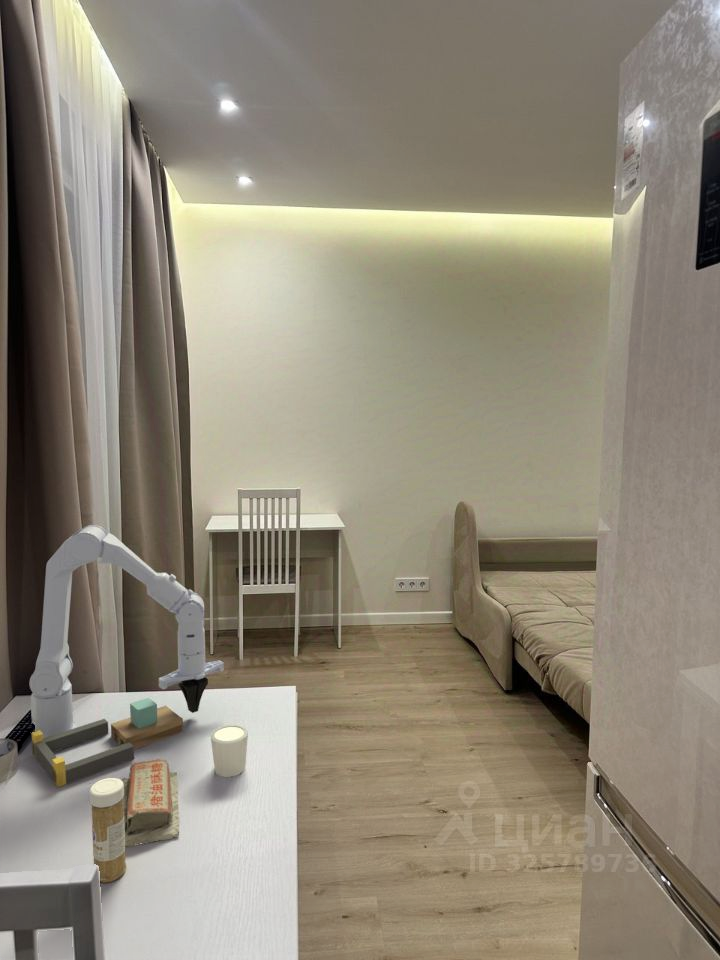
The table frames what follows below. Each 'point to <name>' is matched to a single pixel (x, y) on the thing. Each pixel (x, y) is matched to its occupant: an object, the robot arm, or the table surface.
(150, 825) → the packaged product
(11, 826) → the table surface
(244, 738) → the white cup
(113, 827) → the sprinkles bottle
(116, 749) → the dock
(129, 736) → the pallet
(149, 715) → the block
